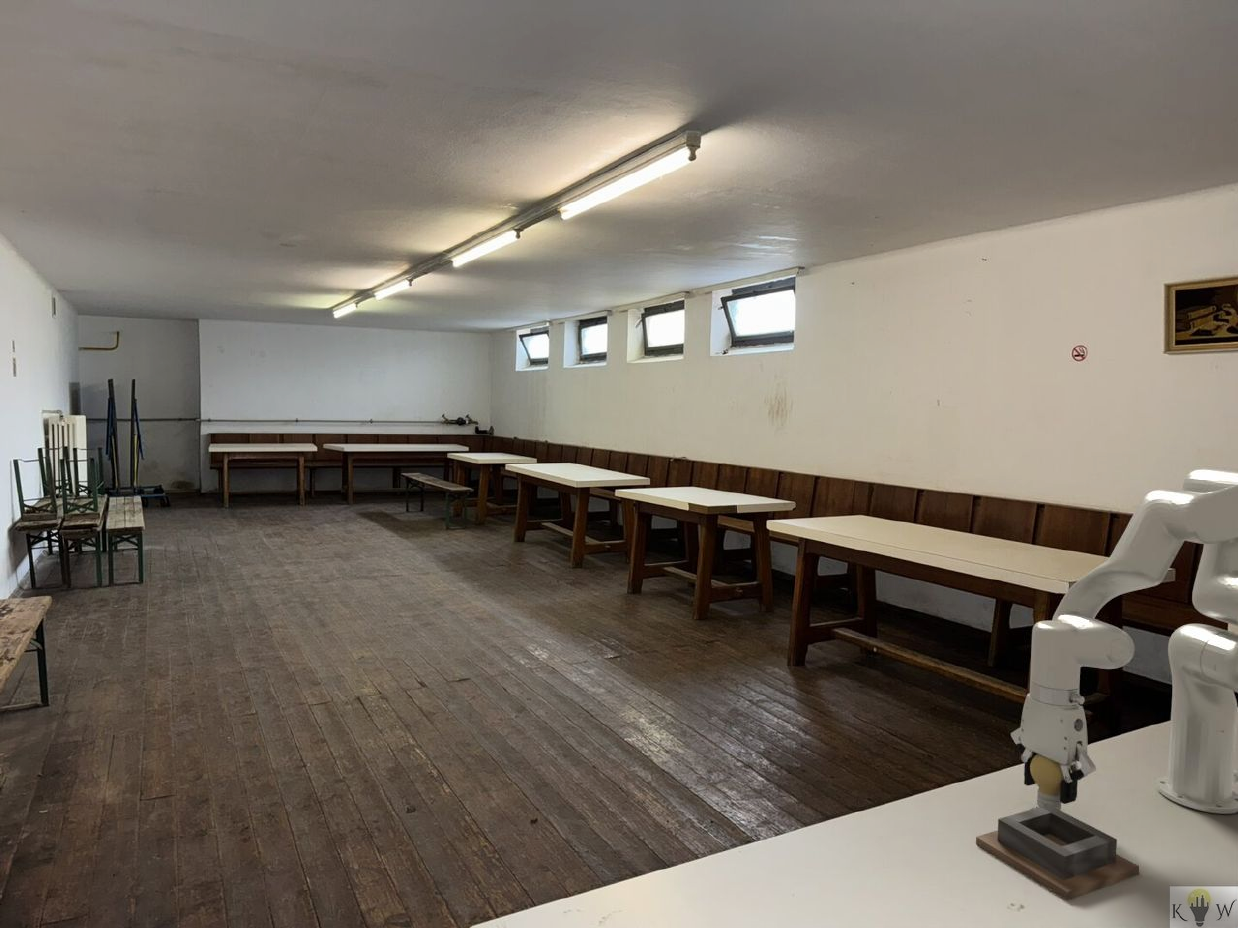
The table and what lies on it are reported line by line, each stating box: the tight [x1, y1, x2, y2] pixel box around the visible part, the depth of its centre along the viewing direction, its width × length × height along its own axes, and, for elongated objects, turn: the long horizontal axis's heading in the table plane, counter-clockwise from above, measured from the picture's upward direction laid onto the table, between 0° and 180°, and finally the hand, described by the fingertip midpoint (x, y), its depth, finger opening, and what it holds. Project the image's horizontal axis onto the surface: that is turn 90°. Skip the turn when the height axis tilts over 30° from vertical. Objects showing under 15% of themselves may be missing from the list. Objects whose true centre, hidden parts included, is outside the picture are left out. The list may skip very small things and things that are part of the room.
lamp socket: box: [975, 805, 1141, 901], centre depth 123 cm, size 16×16×5 cm
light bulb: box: [1030, 754, 1072, 811], centre depth 138 cm, size 6×6×10 cm
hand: (1049, 791), depth 139 cm, fingers closed on light bulb, 6 cm apart
